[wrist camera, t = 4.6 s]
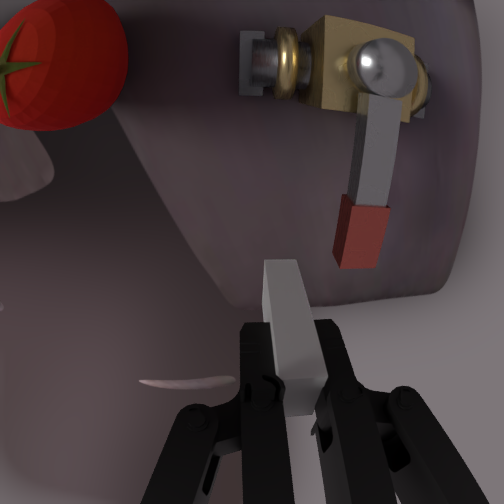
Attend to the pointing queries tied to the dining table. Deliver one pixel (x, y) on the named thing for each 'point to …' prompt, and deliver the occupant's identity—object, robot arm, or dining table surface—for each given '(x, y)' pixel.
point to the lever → (372, 148)
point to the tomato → (61, 64)
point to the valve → (320, 65)
